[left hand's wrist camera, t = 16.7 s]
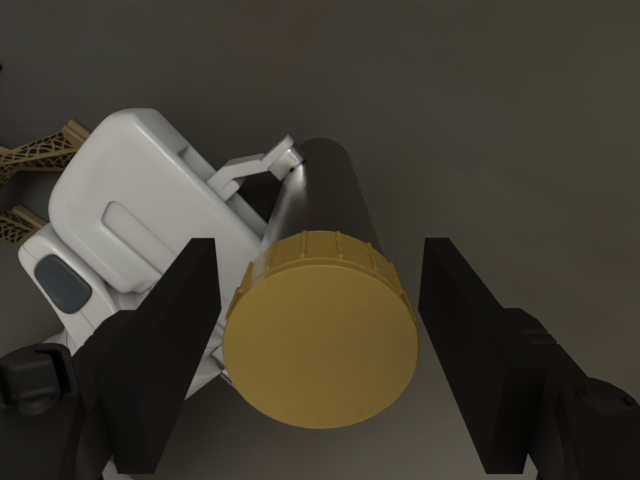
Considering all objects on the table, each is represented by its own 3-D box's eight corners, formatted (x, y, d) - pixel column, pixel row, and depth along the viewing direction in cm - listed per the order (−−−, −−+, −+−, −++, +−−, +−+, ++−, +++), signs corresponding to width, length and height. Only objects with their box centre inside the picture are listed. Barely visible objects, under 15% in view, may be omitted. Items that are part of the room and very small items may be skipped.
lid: (248, 380, 13) (235, 437, 11) (222, 234, 11) (200, 270, 9) (404, 370, 13) (420, 425, 11) (403, 221, 11) (422, 254, 9)
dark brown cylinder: (280, 148, 29) (209, 284, 10) (342, 130, 28) (386, 239, 10) (298, 207, 30) (265, 418, 12) (358, 191, 30) (420, 384, 11)
